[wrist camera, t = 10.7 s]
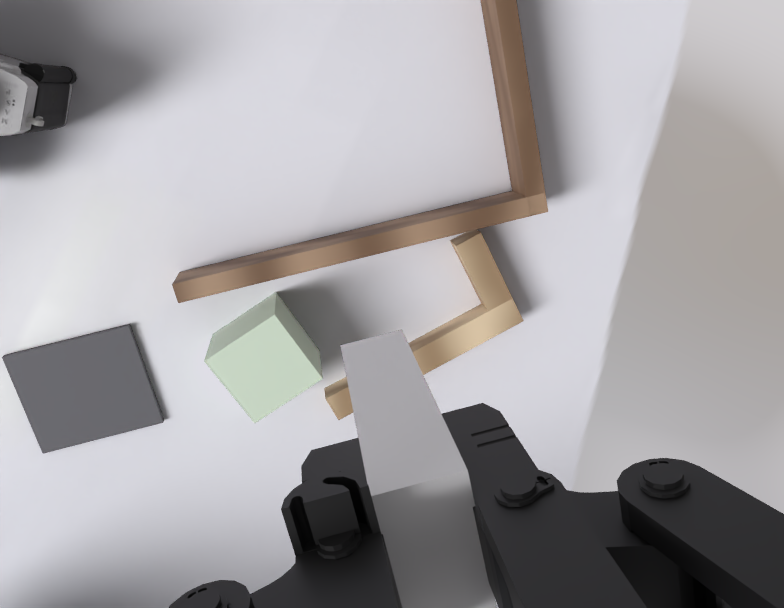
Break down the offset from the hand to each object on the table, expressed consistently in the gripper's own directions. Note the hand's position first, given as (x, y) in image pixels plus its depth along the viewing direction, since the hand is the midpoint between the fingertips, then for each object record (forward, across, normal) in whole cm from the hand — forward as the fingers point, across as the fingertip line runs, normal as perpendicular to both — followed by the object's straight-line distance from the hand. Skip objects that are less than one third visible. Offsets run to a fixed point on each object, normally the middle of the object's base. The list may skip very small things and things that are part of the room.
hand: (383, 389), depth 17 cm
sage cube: (+30, -6, -8) cm, 31 cm away
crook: (+29, +3, -9) cm, 31 cm away
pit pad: (+29, -18, -8) cm, 35 cm away
